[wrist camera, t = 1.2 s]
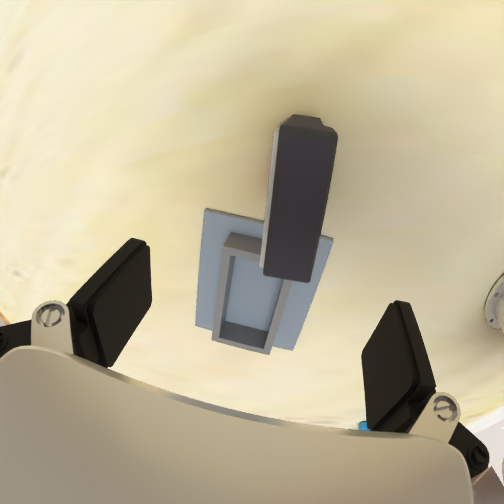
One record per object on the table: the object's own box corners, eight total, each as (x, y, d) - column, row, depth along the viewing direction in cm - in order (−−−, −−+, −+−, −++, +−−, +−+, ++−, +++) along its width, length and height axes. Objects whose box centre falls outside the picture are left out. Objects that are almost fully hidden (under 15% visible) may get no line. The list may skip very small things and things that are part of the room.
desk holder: (332, 238, 35) (334, 256, 32) (293, 347, 46) (290, 368, 42) (206, 208, 37) (193, 222, 33) (196, 322, 47) (187, 341, 43)
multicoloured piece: (286, 113, 29) (266, 122, 16) (325, 118, 29) (338, 133, 16) (275, 205, 35) (251, 276, 22) (311, 211, 34) (309, 286, 21)
